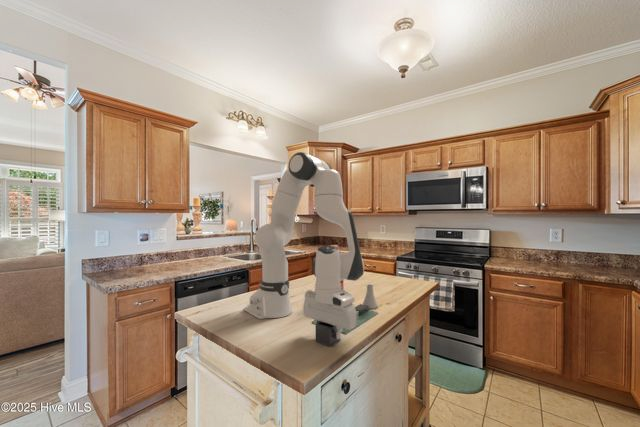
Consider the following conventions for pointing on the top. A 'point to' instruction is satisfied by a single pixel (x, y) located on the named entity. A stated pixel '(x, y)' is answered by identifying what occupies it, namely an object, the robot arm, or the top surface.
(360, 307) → the green placemat
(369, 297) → the flask
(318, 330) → the dark square pot
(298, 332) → the top surface
